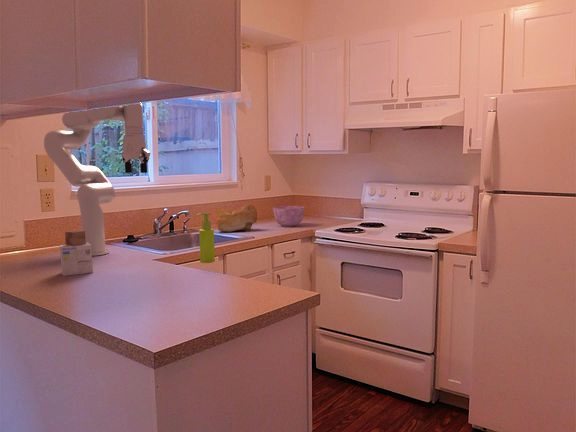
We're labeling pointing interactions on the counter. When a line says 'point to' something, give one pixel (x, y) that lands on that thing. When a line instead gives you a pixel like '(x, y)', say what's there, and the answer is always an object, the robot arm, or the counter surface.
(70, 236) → the walnut cube
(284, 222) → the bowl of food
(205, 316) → the counter surface
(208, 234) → the soap dispenser
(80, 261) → the light bulb box
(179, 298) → the counter surface
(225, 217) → the rough brown rock
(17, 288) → the counter surface
